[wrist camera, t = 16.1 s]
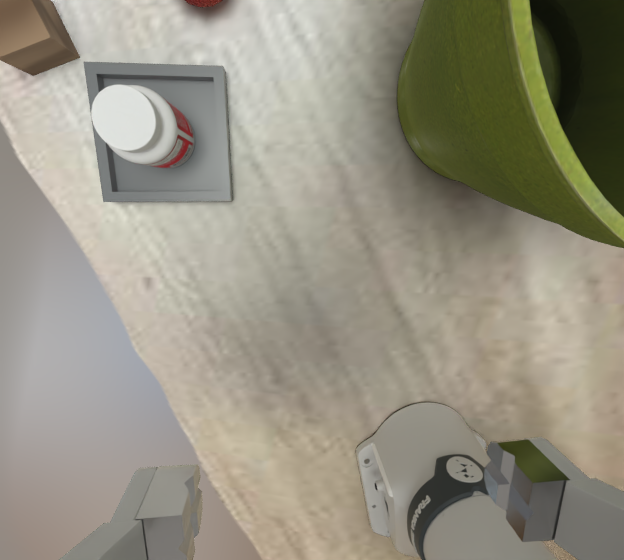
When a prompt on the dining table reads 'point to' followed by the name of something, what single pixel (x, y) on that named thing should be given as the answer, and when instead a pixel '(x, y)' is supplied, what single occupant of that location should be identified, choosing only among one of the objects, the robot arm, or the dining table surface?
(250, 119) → the dining table surface
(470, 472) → the robot arm
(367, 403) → the dining table surface
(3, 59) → the walnut block
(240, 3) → the dining table surface
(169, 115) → the pill bottle
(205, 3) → the red round piece
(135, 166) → the tray
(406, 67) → the plant pot
